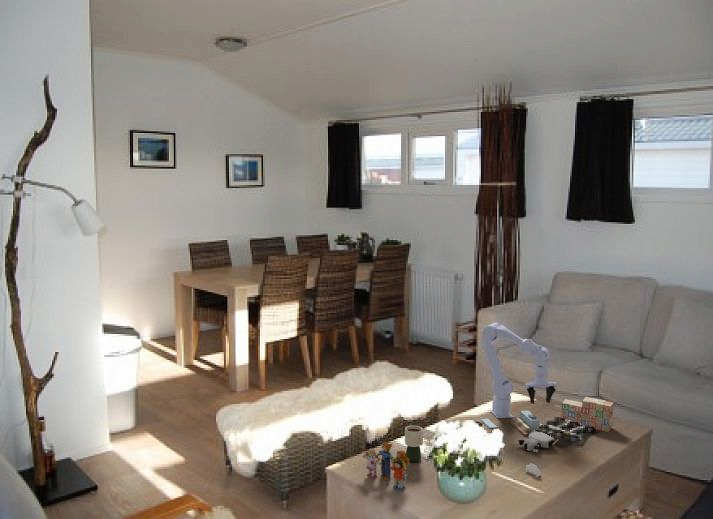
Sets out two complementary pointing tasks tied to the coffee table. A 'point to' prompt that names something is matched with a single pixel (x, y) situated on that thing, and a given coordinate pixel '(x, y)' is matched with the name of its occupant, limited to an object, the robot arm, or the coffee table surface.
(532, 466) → the car cutout
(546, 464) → the coffee table surface
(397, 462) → the doll family
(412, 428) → the character mug
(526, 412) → the light blue block
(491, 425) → the wing plate
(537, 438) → the robot toy
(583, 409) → the stack of blocks
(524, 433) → the wooden pallet
